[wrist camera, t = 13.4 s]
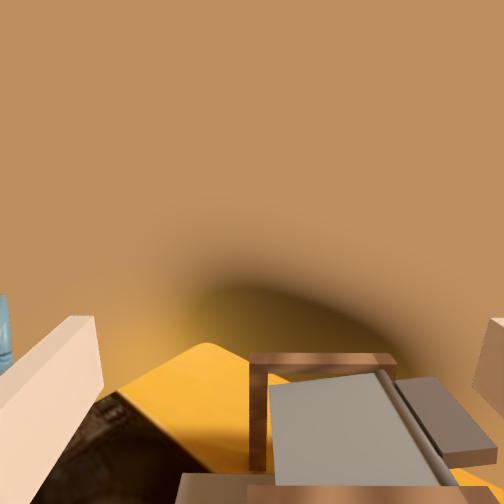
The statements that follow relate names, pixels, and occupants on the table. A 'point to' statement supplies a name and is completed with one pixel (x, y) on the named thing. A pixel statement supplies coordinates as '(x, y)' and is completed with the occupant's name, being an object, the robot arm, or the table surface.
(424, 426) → the flap
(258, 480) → the granite block
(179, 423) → the table surface
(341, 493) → the trapdoor frame
